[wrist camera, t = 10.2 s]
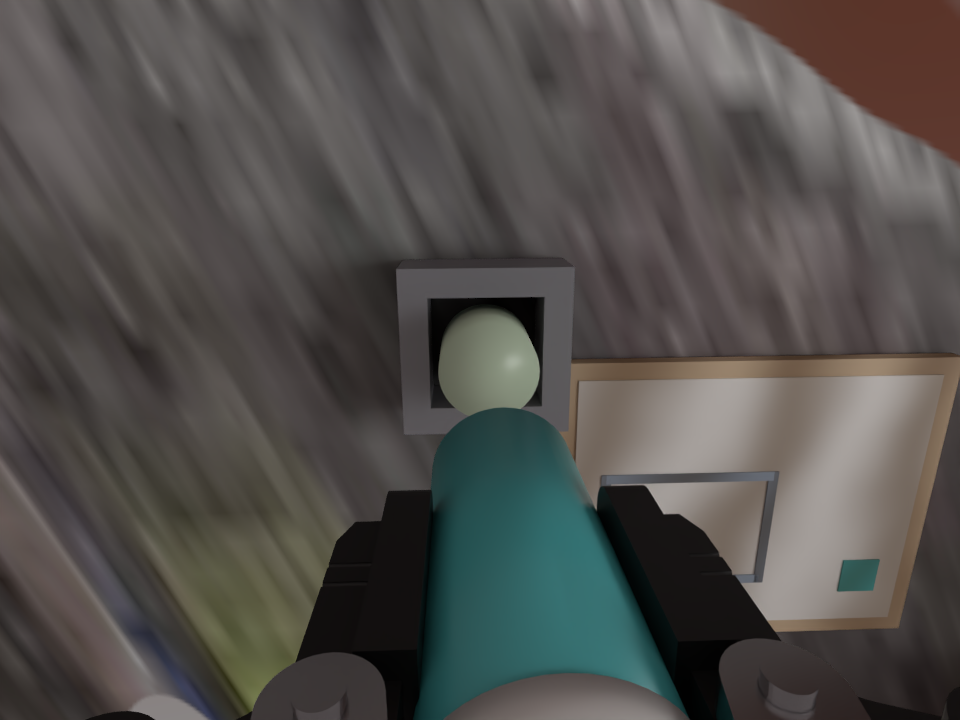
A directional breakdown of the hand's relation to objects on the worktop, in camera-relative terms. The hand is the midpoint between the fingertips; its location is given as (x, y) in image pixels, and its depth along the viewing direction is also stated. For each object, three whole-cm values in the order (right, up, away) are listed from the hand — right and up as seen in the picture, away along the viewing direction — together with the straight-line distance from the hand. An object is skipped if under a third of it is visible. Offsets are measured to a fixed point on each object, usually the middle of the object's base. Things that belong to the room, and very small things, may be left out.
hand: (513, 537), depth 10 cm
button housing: (0, +4, +13) cm, 14 cm away
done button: (0, +3, +11) cm, 12 cm away
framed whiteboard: (+11, -3, +15) cm, 19 cm away
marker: (0, +1, +4) cm, 4 cm away
